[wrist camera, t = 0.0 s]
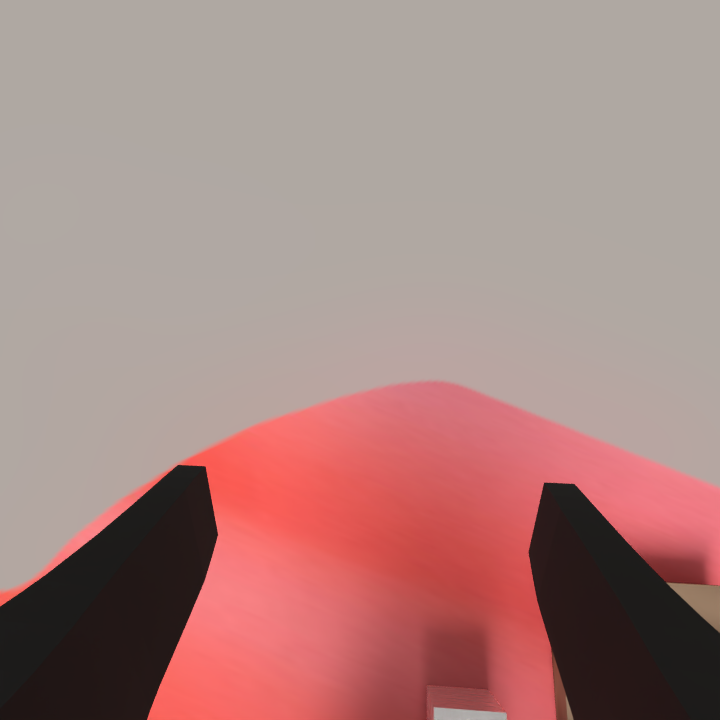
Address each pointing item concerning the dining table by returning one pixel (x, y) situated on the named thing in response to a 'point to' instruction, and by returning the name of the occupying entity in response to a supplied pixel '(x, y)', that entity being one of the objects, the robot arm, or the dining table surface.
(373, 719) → the dining table surface
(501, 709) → the aluminium block
